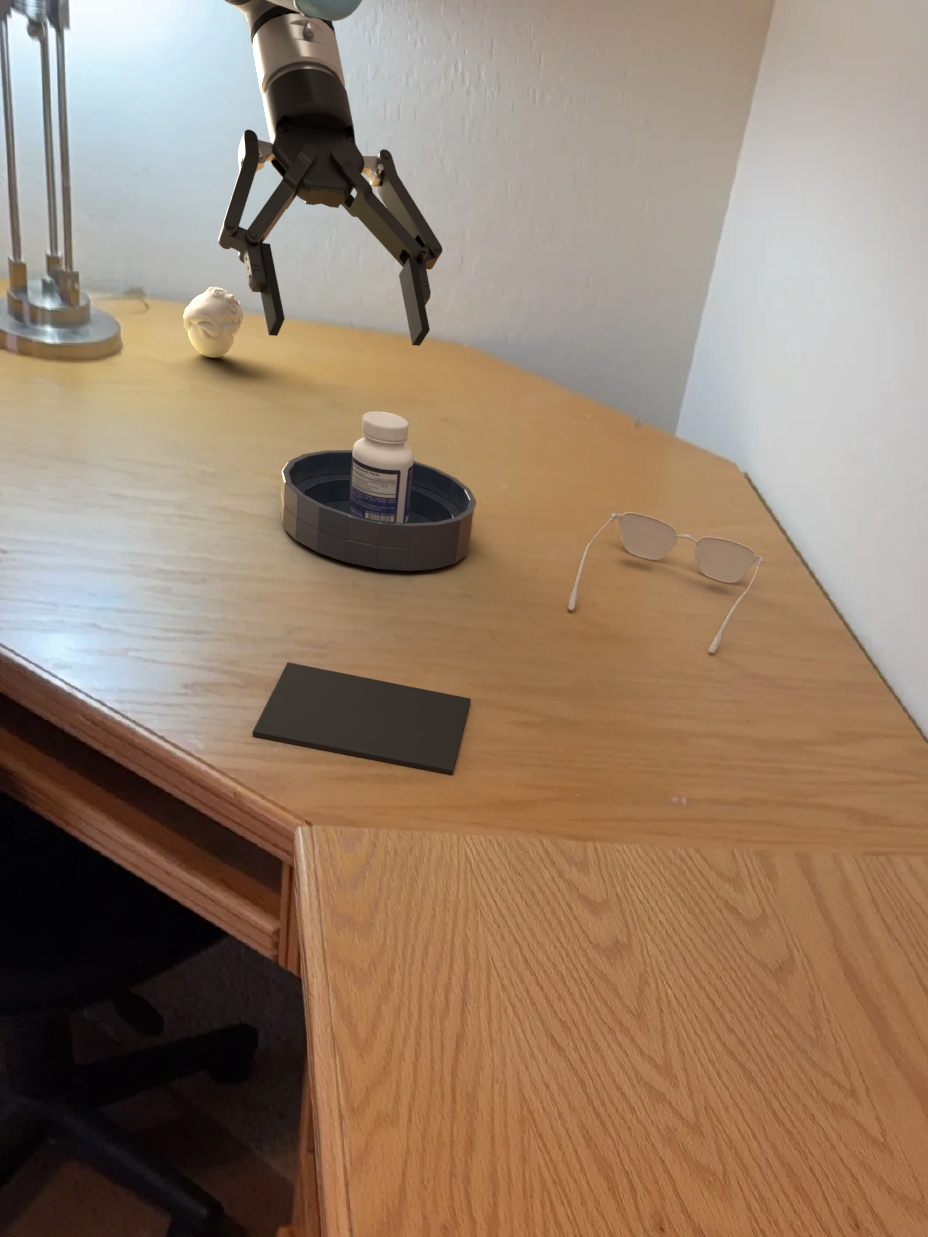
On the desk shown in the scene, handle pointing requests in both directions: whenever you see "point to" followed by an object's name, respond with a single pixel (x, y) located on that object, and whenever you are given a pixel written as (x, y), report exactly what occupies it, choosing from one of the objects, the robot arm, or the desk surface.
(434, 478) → the bowl
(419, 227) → the robot arm
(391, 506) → the pill bottle
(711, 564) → the eyeglasses
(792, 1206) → the desk surface
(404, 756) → the mat
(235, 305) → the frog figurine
